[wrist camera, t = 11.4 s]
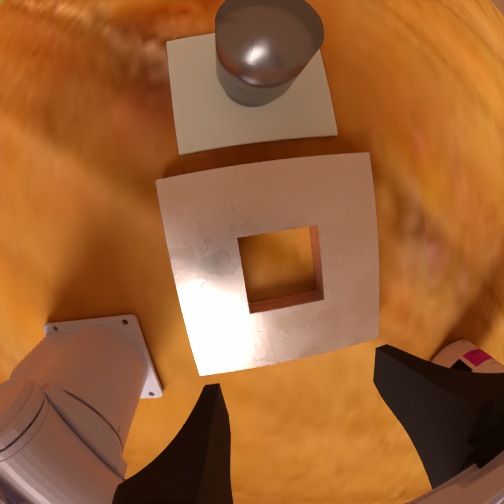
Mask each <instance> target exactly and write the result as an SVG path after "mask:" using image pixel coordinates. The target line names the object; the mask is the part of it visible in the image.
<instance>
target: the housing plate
mask: <svg viewBox="0 0 504 504" xmlns="http://www.w3.org/2000/svg"><path fill="white" fill-rule="evenodd" d="M155 181H156V187H157V193H158V199H159V205H160V211H161V217H162V222H163V227H164V232H165V238H166V243H167V247H168V252H169V257H170V262H171V266H172V271H173V275H174V280H175V284H176V288H177V292H178V297H179V301H180V305H181V309H182V313H183V317H184V320H185V324H186V328H187V332H188V335H189V339H190V343H191V346H192V350H193V353H194V357H195V360H196V364H197V367H198V370H199V374H200V376H201V375H209V374H216V373H223V372H230V371H237V370H243V369H249V368H255V367H260V366H266V365H271V364H276V363H281V362H286V361H291V360H296V359H300V358H305V357H309V356H313V355H317V354H322V353H326V352H330V351H334V350H337V349H341V348H345V347H349V346H352V345H356V344H359V343H363V342H366V341H370V340H373V339H376V338H378V330H379V248H378V229H377V215H376V204H375V193H374V184H373V176H372V168H371V161H370V154H369V152H364V153H346V154H332V155H320V156H309V157H298V158H289V159H280V160H272V161H264V162H256V163H249V164H242V165H235V166H229V167H223V168H217V169H211V170H205V171H199V172H194V173H188V174H183V175H178V176H173V177H168V178H163V179H159V180H155ZM307 226H310V235H311V244H312V254H313V264H314V274H315V286H316V290H314V291H309V292H304V293H299V294H294V295H288V296H283V297H278V298H272V299H267V300H262V301H256V302H250V303H248V300H247V295H246V289H245V283H244V277H243V271H242V265H241V258H240V252H239V246H238V240H237V238H239V237H245V236H251V235H257V234H263V233H269V232H276V231H282V230H288V229H294V228H301V227H307Z"/></svg>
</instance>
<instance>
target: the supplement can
mask: <svg viewBox="0 0 504 504" xmlns="http://www.w3.org/2000/svg"><path fill="white" fill-rule="evenodd" d="M431 362H432V363H435V364H438V365H441V366H444V367H448V368H452V369H457V370H462V371H469V372H477V373H504V366H503V365H502V364H501V363H499V362H498V361H496V360H495V359H494V358H492V357H491V356H490V355H488V354H487V353H485V352H484V351H483V350H481V349H480V348H479V347H477V346H476V345H474V344H473V343H471V342H470V341H468V340H465V339H463V340H458V341H456V342H453V343H451V344H449V345H447V346H446V347H444V348H443V349H442V350H441V351H440V352H439V353H438V354H437V355H436V356H435V357H434V358H433V360H432V361H431Z"/></svg>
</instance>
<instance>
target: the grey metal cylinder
mask: <svg viewBox="0 0 504 504" xmlns="http://www.w3.org/2000/svg"><path fill="white" fill-rule="evenodd" d="M323 37H324V29H323V24H322V22H321V19H320V17H319V16H318V14H317V12H316V11H315V10H314V9H313V8H312V7H311V6H310V5H309V4H308V3H307V2H306V1H304V0H226V1H225V2H224V3H223V4H222V5H221V6H220V8H219V10H218V12H217V15H216V19H215V47H216V74H217V78H218V81H219V83H220V84H221V86H222V87H223V89H224V91H225V93H226V94H227V96H228V97H229V98H230V99H231V100H232V101H234V102H235V103H237V104H239V105H242V106H245V107H260V106H263V105H266V104H268V103H270V102H271V101H273V100H276V99H278V98H279V97H281V96H282V95H284V94H285V93H286V92H287V91H288V89H289V88H290V87H291V85H292V84H293V83H294V81H295V80H296V79H297V77H298V76H299V75H300V73H301V72H302V71H303V69H304V68H305V67H306V65H307V64H308V63H309V61H310V60H311V59H312V57H313V56H314V55H315V54H316V52H317V51H318V50H319V48H320V46H321V45H322V42H323Z"/></svg>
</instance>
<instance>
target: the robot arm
mask: <svg viewBox="0 0 504 504" xmlns="http://www.w3.org/2000/svg"><path fill="white" fill-rule="evenodd" d="M123 320H127V322H128V323H124V321H123ZM55 327H57V329H58V330H57V329H56V328H55ZM43 329H44V332H45V334H46V337H45V338H44V339H43V340H42V341H41V342H40V343H39V344H38V345H37V346H36V347H35V348H34V349H33V350H32V351H31V352H30V353H29V354H28V355H27V356H26V357H25V358H24V359H23V360H22V361H21V362H20V363H19V364H18V365H17V366H16V367H15V368H14V370H13V372H12V374H11V376H10V379H9V380H7V381H5V382H3V383H1V384H0V504H233V498H232V490H231V481H230V449H231V432H230V423H229V415H228V412H227V408H226V405H225V402H224V398H223V395H222V391H221V388H220V384H219V383H218V384H210V385H205V386H204V388H203V390H202V392H201V395H200V397H199V399H198V401H197V403H196V405H195V407H194V408H193V410H192V412H191V414H190V416H189V417H188V419H187V421H186V422H185V424H184V425H183V427H182V428H181V430H180V431H179V433H178V434H177V435H176V437H175V438H174V439H173V440H172V441H171V443H170V444H169V445H168V446H167V447H166V448H165V449H164V450H163V451H162V452H161V454H160V455H159V456H158V457H156V458H155V459H154V460H153V461H152V462H151V463H150V464H148V465H147V466H146V467H145V468H143V469H142V470H141V471H139V472H138V473H137V474H135V475H133V476H132V477H130V478H129V479H127V480H126V479H125V478H124V477H125V473H126V469H127V463H126V462H125V461H124V460H123V457H122V453H123V450H124V446H125V443H126V440H127V437H128V433H129V430H130V427H131V424H132V421H133V418H134V415H135V412H136V409H137V406H138V403H139V400H140V398H159V397H162V395H163V389H162V387H161V384H160V382H159V379H158V377H157V374H156V371H155V369H154V366H153V363H152V361H151V358H150V355H149V352H148V349H147V346H146V343H145V340H144V337H143V334H142V331H141V328H140V325H139V322H138V319H137V317H136V316H135V315H133V314H127V315H119V316H110V317H101V318H92V319H83V320H73V321H63V322H52V323H46V324H45V325H44V326H43ZM373 382H374V384H375V386H376V388H377V390H378V391H379V393H380V395H381V397H382V398H383V400H384V401H385V403H386V404H387V405H388V407H389V408H390V409H391V411H392V412H393V413H394V415H395V416H396V418H397V419H398V420H399V422H400V423H401V424H402V426H403V427H404V429H405V430H406V432H407V433H408V435H409V437H410V439H411V440H412V442H413V444H414V446H415V448H416V450H417V452H418V454H419V456H420V459H421V461H422V463H423V465H424V468H425V470H426V473H427V475H428V478H429V481H430V484H431V487H432V490H431V491H429V492H428V493H426V494H424V495H422V496H420V497H418V498H416V499H414V500H412V501H410V502H408V503H406V504H500V503H501V502H502V501H503V500H504V373H477V372H469V371H462V370H457V369H452V368H448V367H444V366H441V365H438V364H435V363H432V362H429V361H426V360H424V359H421V358H419V357H416V356H414V355H411V354H409V353H407V352H404V351H402V350H400V349H398V348H395V347H393V346H390V345H387V344H386V345H383V346H380V347H377V348H376V353H375V367H374V379H373ZM151 392H153V393H151Z"/></svg>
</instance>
